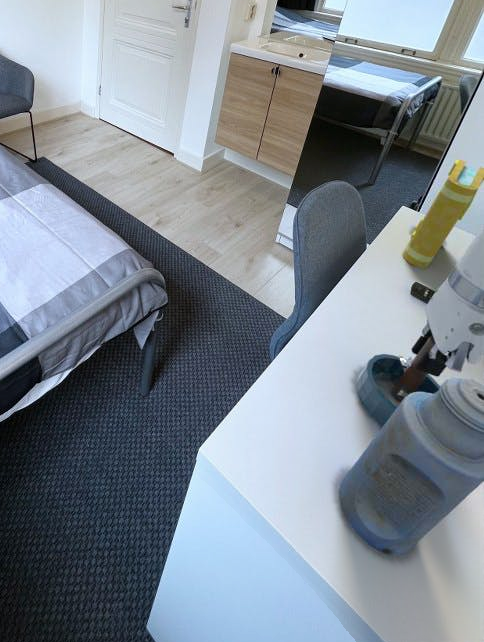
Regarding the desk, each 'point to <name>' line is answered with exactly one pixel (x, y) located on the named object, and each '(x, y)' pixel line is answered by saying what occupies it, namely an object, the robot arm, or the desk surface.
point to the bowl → (390, 371)
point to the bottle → (417, 467)
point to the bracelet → (405, 363)
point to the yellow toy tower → (444, 213)
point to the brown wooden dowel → (413, 372)
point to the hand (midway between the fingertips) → (424, 362)
